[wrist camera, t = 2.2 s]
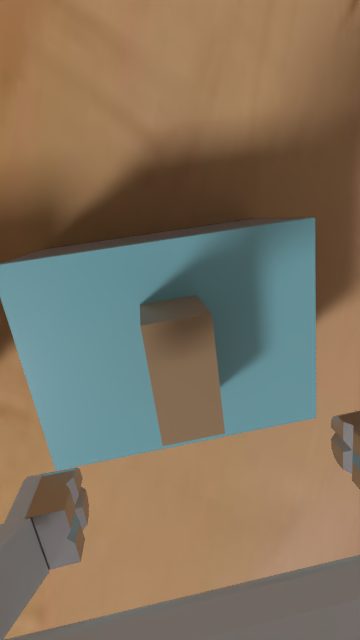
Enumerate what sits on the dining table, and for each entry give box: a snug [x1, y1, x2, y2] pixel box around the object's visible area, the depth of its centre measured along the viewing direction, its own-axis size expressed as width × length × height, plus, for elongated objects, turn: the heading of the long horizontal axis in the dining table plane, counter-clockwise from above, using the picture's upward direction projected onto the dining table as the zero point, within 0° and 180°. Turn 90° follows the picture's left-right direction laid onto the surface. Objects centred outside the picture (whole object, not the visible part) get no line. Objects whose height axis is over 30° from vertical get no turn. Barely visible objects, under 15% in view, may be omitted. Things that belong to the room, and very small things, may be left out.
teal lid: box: [0, 217, 316, 470], centre depth 17 cm, size 12×16×6 cm
